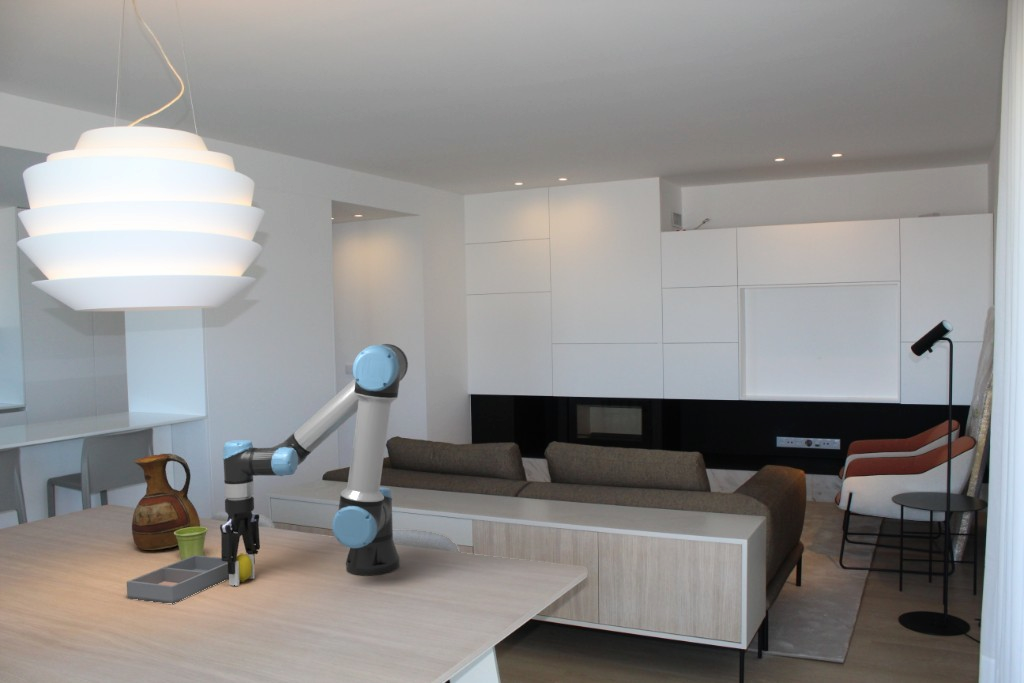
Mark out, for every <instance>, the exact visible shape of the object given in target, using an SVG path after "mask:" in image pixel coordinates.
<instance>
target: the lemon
mask: <svg viewBox="0 0 1024 683" xmlns="http://www.w3.org/2000/svg"><path fill="white" fill-rule="evenodd" d="M236 561H239V583H245V581H246V580H247V579H250V578H249V577H250V575H251V574H252V570H253V566H252V561H251V559H250V558H249V557H248V556H247V555H244V553H239V554H237V559H236Z"/></svg>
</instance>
